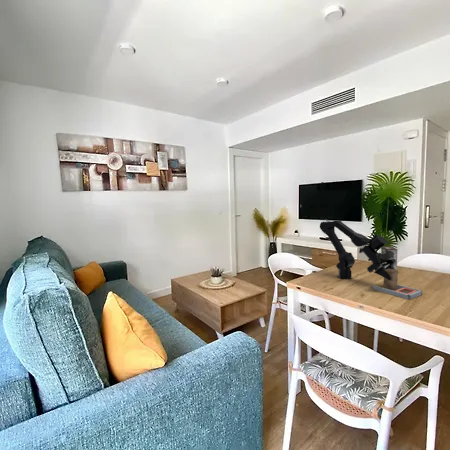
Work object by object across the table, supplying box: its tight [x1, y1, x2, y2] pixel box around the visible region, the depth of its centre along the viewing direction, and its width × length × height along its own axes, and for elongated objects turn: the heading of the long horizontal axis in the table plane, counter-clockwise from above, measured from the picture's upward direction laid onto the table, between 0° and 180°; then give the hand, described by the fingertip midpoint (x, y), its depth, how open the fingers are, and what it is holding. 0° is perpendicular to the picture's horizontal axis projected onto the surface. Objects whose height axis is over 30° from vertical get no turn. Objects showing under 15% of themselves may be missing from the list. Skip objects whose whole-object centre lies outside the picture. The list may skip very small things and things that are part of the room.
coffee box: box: [381, 246, 398, 270], centre depth 164 cm, size 9×6×16 cm
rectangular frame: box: [396, 287, 416, 295], centre depth 127 cm, size 6×9×2 cm, turn 119°
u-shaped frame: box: [372, 283, 423, 301], centre depth 131 cm, size 18×12×2 cm, turn 29°
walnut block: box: [383, 268, 398, 291], centre depth 133 cm, size 4×4×11 cm
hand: (393, 278), depth 132 cm, fingers open, 5 cm apart
